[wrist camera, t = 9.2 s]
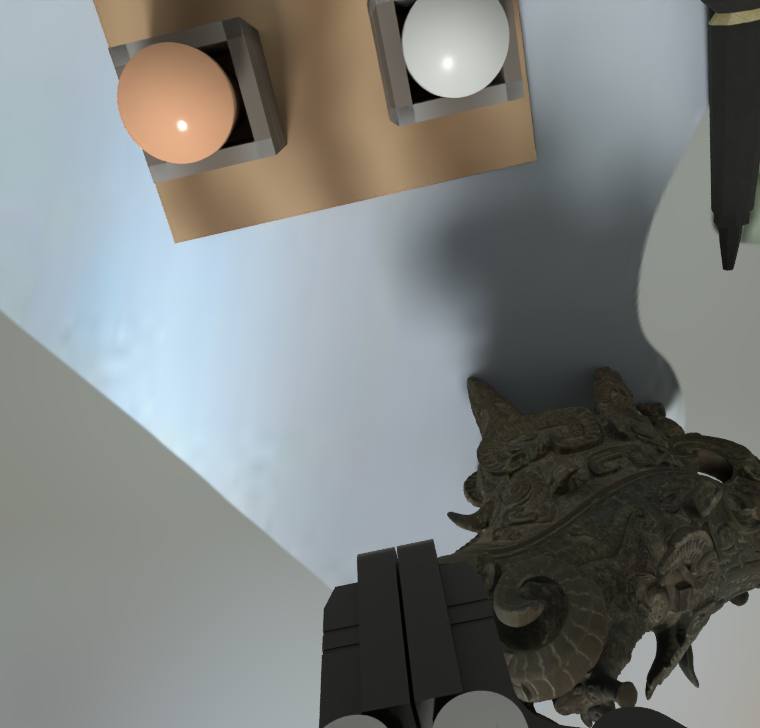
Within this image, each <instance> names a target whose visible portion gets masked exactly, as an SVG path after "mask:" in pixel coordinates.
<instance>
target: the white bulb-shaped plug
mask: <svg viewBox="0 0 760 728" xmlns="http://www.w3.org/2000/svg"><path fill="white" fill-rule="evenodd" d="M401 47H402V55H403V59H404V62H405V66H406V71H407V74H408V75H409V77H410V78H411V79H413V80H414V81H415V82H417V83H418V85H420V86H421V87H422V88H423V89H425V90H426V91H428V92H430V93H432V94H434V95H437V96H441V97H447V98H460V97H465V96H469V95H472V94H474V93H476V92H478V91H480V90H481V89H483V88H484V87H486V86H487V85H488V84H489V83H490V82H491V81H492V80H493V79H494V78H495V77H496V75H497V74H498V73H499V71H500V69H501V67H502V66H503V63H504V61H505V59H506V55H507V52H508V47H509V26H508V21H507V17H506V14H505V12H504V10H503V7H502V6H501V4H500V2H499V1H498V0H417V1H416V2H415V4H414V5H413V6H412V8H411V9H410V11H409V13H408V15H407V17H406V20H405V23H404V26H403V30H402V38H401Z"/></svg>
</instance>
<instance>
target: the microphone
mask: <svg viewBox="0 0 760 728" xmlns="http://www.w3.org/2000/svg"><path fill="white" fill-rule="evenodd" d="M701 1H702V2H703V3H704V4H706V5H707V6H708V7H710V8H711V9H712V10H714V11H715V12H716V13H715V14H714V16H713V17H712V18H711V20H710V21H709V23H708V53H709V106H710V152H711V153H710V154H711V155H710V158H711V209H712V211H713V213H714V223H715V224H716V225H717V226H718V227H719V241H720V248H721V257H722V265H723V269H724V270H733V268H734V264H735V260H736V256H737V252H738V247H739V243H740V239H741V233H742V226H743V225H746V224H748V223H749V216H750V211H751V210H752V209H753V206H754V199H755V192H756V185H757V178H758V171H759V164H760V0H701Z"/></svg>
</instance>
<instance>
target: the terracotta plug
mask: <svg viewBox="0 0 760 728" xmlns="http://www.w3.org/2000/svg"><path fill="white" fill-rule="evenodd" d="M117 103H118V109H119V113H120V117H121V119H122V122H123V124H124V126H125V128H126V130H127V132H128V133H129V135H130V136H131V138H132V139H133V140H134V141H135V142H136V143H137V145H138V146H140V147H141V148H142V149H143V150H144V151H146V152H147V153H149V154H150V155H152V156H154V157H156V158H157V159H160V160H163V161H166V162H170V163H177V164H187V163H193V162H196V161H200V160H202V159H204V158H206V157H208V156H210V155H212V154H214V153H215V152H217V151H218V150H219V149H220V148H221V147H222V146H223V145H224V144H225V142H226V141H227V140H228V138H229V136H230V135H231V134H232V133H234V132H235V131H236V130H237V129H238V128H239V127H240V125H241V124H242V122H243V120H244V117H245V114H246V108H245V104H244V101H243V97H242V93H241V90H240V86H239V82H238V79H237V78H236V77H235V76H234V75H233V74H232V73H231V72H230V71H228V70H227V69H225V68H223V67H221V66H220V65H219V64H218V63H217V62H216V61H215V60H214V59H213V58H211V57H210V56H209V55H207V54H206V53H204V52H202V51H201V50H199V49H196V48H194V47H191V46H188V45H184V44H180V43H174V42H163V43H157V44H153V45H150V46H148V47H146V48H144V49H142V50H140V51H139V52H138V53H136V54H135V55H134V56H133V57H132V58H131V59H130V60H129V62H128V63H127V64H126V66H125V68H124V69H123V71H122V74H121V76H120V79H119V84H118V90H117Z"/></svg>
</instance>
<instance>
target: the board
mask: <svg viewBox="0 0 760 728" xmlns="http://www.w3.org/2000/svg"><path fill="white" fill-rule="evenodd" d="M416 1H417V0H93V2H94V5H95V8H96V11H97V13H98V16H99V19H100V22H101V25H102V28H103V31H104V34H105V37H106V40H107V43H108V46H109V48H108V49H109V52H110V55H111V58H112V61H113V64H114V67H115V70H116V73H117V76H118V79H120V76H121V74H122V71H123V69H124V68H125V66H126V64H127V63H128V62H129V60H130V59H131V58H132V57H133V56H134V55H135V54H136V53H138V52H139V51H140V50H142V49H144V48H146V47H148V46H150V45H153V44H157V43H163V42H174V43H180V44H184V45H188V46H191V47H194V48H196V49H199V50H201V51H202V52H204V53H206V54H207V55H209V56H210V57H211V58H213V59H214V60H215V61H216V62H217V63H218V64H219V65H220V66H221V67H223V68H225V69H227V70H228V71H230V72H231V73H232V74H233V75H234V76H235V77H236V78H237V79H238V82H239V86H240V90H241V93H242V97H243V101H244V104H245V108H246V114H245V117H244V120H243V122H242V124H241V125H240V127H239V128H238V129H237V130H236V131H235V132H234V133H232V134H231V135H230V136H229V138H228V140H227V141H226V142H225V144H224V145H223V146H222V147H221V148H220V149H219V150H218V151H217V152H215V153H214V154H212V155H210V156H208V157H206V158H204V159H202V160H200V161H196V162H193V163H187V164H177V163H170V162H166V161H163V160H160V159H157V158H156V157H154V156H152V155H150V154H149V153H147V152H146V151H144V150H143V152H144V155H145V158H146V161H147V164H148V167H149V170H150V173H151V176H152V179H153V182H154V184H155V185H156V188H157V191H158V194H159V197H160V200H161V203H162V206H163V208H164V211H165V214H166V217H167V220H168V223H169V226H170V229H171V232H172V235H173V238H174V241H175V243H179V242H183V241H188V240H192V239H196V238H201V237H205V236H209V235H214V234H218V233H223V232H227V231H231V230H236V229H240V228H244V227H249V226H253V225H257V224H262V223H266V222H271V221H275V220H279V219H284V218H288V217H292V216H297V215H301V214H305V213H310V212H314V211H319V210H323V209H327V208H332V207H336V206H340V205H345V204H349V203H353V202H358V201H362V200H367V199H371V198H375V197H380V196H384V195H388V194H393V193H397V192H401V191H406V190H410V189H415V188H419V187H423V186H428V185H432V184H436V183H441V182H445V181H449V180H454V179H458V178H463V177H467V176H471V175H476V174H480V173H484V172H489V171H493V170H497V169H502V168H506V167H511V166H515V165H519V164H524V163H528V162H532V161H537V158H536V149H535V141H534V133H533V124H532V116H531V108H530V100H529V91H528V83H527V75H526V66H525V58H524V50H523V42H522V33H521V25H520V17H519V8H518V0H498V1H499V2H500V4H501V6H502V7H503V10H504V12H505V14H506V17H507V21H508V26H509V47H508V52H507V55H506V59H505V61H504V63H503V66H502V67H501V69H500V71H499V73H498V74H497V75H496V77H495V78H494V79H493V80H492V81H491V82H490V83H489V84H488V85H487V86H486V87H484V88H483V89H481V90H480V91H478V92H476V93H474V94H472V95H469V96H465V97H460V98H447V97H441V96H437V95H434V94H432V93H430V92H428V91H426V90H425V89H423V88H422V87H421V86H420V85H418V83H417V82H415V81H414V80H413V79H411V78H410V77H409V75H408V74H407V71H406V66H405V62H404V59H403V55H402V47H401V38H402V30H403V26H404V23H405V20H406V17H407V15H408V13H409V11H410V9H411V8H412V6H413V5H414V4H415V2H416Z"/></svg>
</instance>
